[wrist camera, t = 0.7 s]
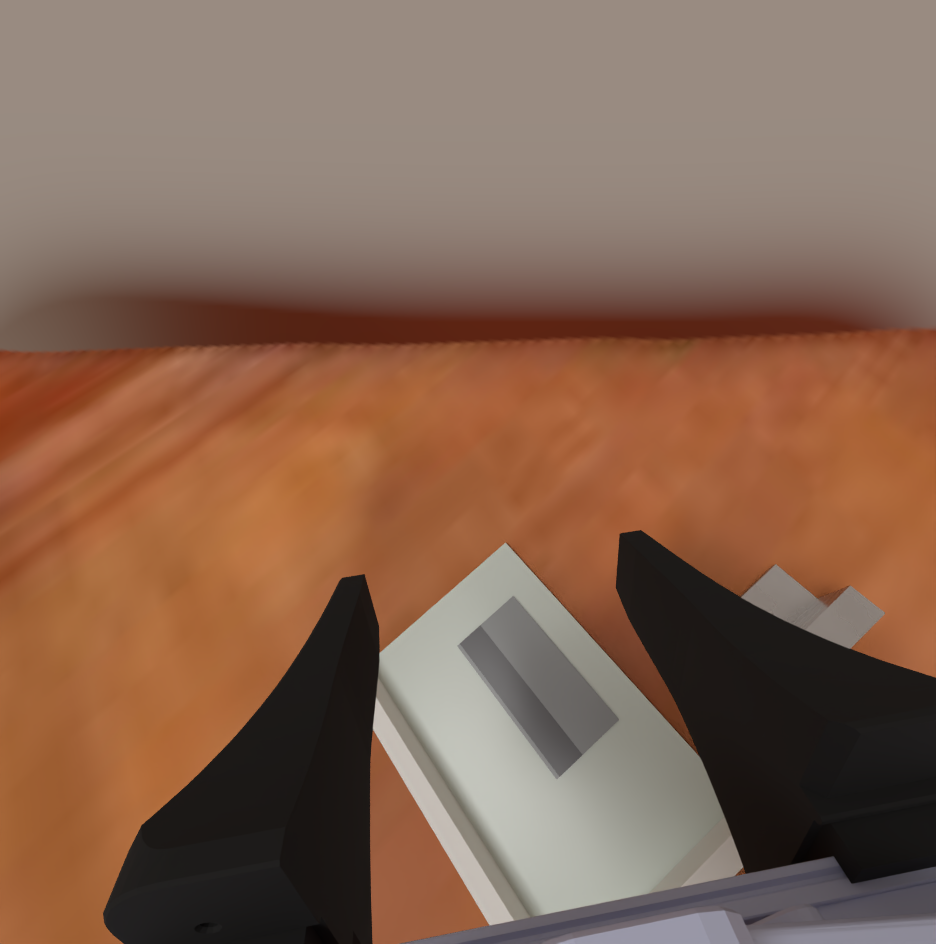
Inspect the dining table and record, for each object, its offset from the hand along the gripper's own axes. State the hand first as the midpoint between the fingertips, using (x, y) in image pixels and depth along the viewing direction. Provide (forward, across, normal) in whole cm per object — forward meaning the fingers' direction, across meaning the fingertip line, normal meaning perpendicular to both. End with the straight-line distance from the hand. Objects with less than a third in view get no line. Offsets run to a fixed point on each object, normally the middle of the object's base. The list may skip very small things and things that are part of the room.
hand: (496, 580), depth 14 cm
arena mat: (+5, -2, +16) cm, 17 cm away
